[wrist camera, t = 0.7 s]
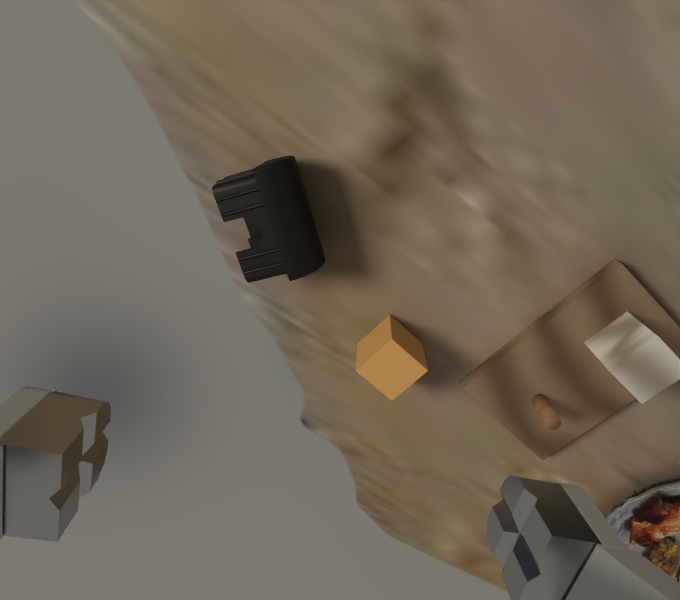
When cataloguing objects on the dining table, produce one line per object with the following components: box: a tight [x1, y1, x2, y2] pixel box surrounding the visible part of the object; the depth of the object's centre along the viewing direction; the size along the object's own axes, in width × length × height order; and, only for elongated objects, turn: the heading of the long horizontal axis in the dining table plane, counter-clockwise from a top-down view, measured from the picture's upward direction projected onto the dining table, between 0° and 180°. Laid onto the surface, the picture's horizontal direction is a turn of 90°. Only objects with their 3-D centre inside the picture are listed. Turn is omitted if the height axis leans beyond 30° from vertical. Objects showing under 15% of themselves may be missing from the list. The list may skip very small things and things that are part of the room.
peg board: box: [459, 259, 680, 460], centre depth 46 cm, size 20×14×7 cm
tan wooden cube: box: [356, 315, 428, 400], centre depth 47 cm, size 5×5×6 cm
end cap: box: [212, 156, 325, 283], centre depth 42 cm, size 10×7×7 cm
